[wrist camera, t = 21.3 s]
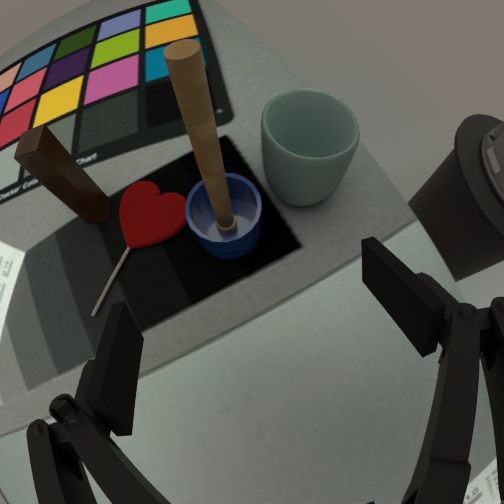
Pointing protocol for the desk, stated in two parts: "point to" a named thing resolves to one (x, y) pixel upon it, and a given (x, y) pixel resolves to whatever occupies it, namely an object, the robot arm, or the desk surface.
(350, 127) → the cup
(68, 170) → the block
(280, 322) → the desk surface
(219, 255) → the bowl
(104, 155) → the desk surface
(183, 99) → the stick
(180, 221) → the lollipop
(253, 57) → the desk surface
